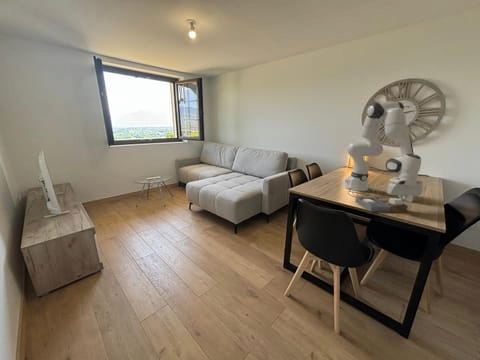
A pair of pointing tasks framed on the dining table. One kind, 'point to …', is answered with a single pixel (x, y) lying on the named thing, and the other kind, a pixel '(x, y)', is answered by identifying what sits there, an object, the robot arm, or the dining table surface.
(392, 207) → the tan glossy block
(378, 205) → the bin
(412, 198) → the small box
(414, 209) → the dining table surface
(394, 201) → the tile
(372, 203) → the tile
